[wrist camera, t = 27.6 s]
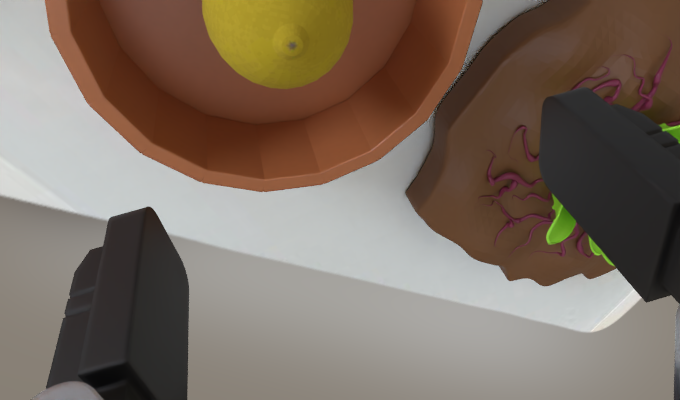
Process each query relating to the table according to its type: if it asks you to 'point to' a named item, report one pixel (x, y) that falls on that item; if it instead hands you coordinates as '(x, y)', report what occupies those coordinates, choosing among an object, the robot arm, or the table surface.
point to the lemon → (279, 37)
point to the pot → (260, 88)
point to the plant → (525, 124)
